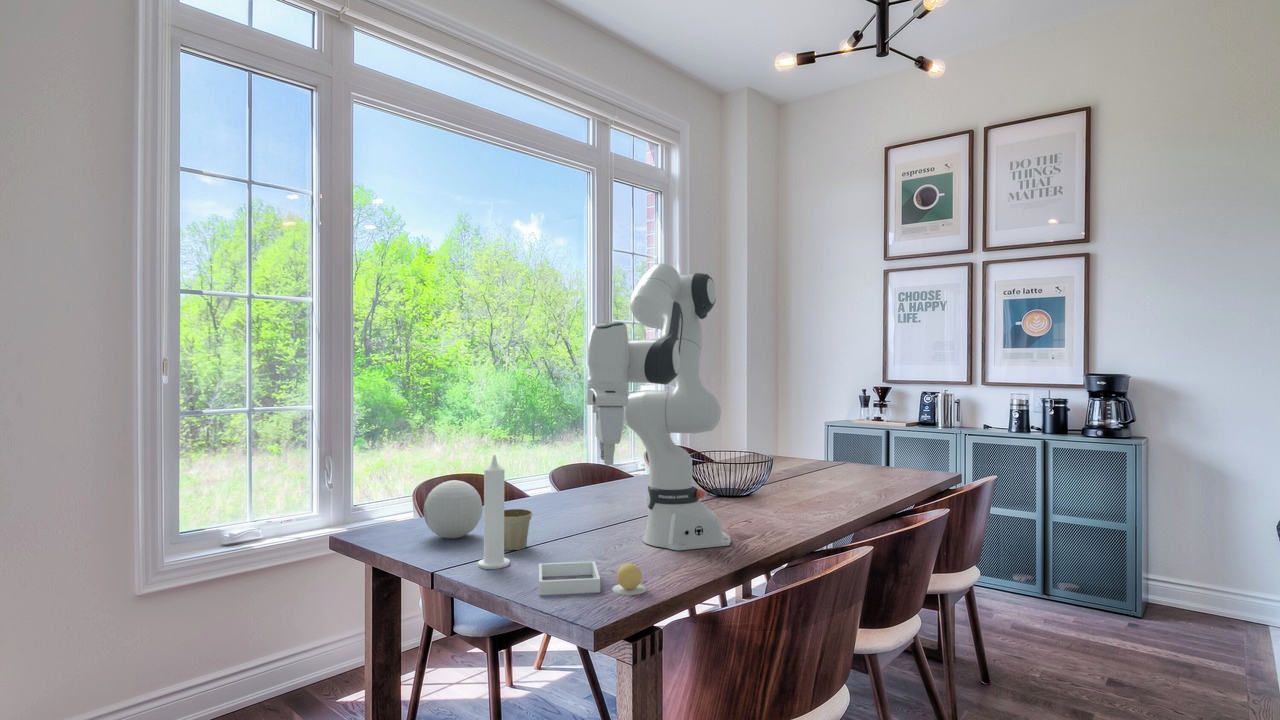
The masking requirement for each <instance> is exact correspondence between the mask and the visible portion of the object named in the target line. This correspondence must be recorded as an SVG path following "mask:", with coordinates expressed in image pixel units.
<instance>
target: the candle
mask: <svg viewBox="0 0 1280 720" xmlns="http://www.w3.org/2000/svg"><path fill="white" fill-rule="evenodd" d="M491 459H492V460H491V462H490V464H489V465H488V466H487V467H485V469H484V470H483V472H484V473H483V474H484V475H483V479H484V481H483V482H484V484H483V486H484V487H483V493H484V494H483V559H480V560H479V561H478V562H477V566H478V567H479V568H480V569H484V570H498V569H500V570H501V569H504V568H506V567H508V566H510V563H511V561H510V559H508V557H507V558H506V557H505V550H504V510H505V468H504V467H502V466H501V465H500V464H499V463H498V460H497V456H496V454H493V455H492V458H491Z"/></svg>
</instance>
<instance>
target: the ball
mask: <svg viewBox="0 0 1280 720" xmlns="http://www.w3.org/2000/svg"><path fill="white" fill-rule="evenodd" d="M616 573H617V574H616V577H617V578H616V579H617V583H618V584H620V585H621V586H622V587H623V588H625V589H634V588H636V587H637V586H638V585H639V584H641V582H642V580H643V579H642V578H643V577H642V570H641V569H640V568H639V566H638V565H636V564H634V563H624V564H623V565H621V566H620V567H619V569H618V570H617V572H616Z"/></svg>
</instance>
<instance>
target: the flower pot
mask: <svg viewBox="0 0 1280 720" xmlns="http://www.w3.org/2000/svg"><path fill="white" fill-rule="evenodd" d="M533 513H534V512H533V511H532V510H530V509H525V508H508V509H504V551H512V550H515V551H520V550H523V549H525V548H526V547H527V545H528V543H527V542H528V537H529V536H528V535H529V529H530V521H531V519H532V515H533Z"/></svg>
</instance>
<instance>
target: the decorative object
mask: <svg viewBox="0 0 1280 720" xmlns="http://www.w3.org/2000/svg"><path fill="white" fill-rule="evenodd" d="M482 515H483V501H482V499H481V495H480V494H479V492H478V491H477V489H475V487H474V486H472V485H471V484H469V483H468V482H465V481H462V480H456V479H454V480H453V479H452V480H447V481H443V482H442V483H439V484H438V485H436V486H435V487H434V488H432V490H430V492H429V493H428V495H427V497H426V498H425V501H424V504H423V518H424V522H425V524H426V526H427V527H428V529H430V530H431V532H432V533H434V534H435V535H437V536H438V537H441V538H444V539H457V538H462V537H464V536H466V535H468V534H469V533H471V532H472V531H473V530H474V529H475V528H476V527H477V525H478V524H479V522H480V520H481V517H482Z"/></svg>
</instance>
